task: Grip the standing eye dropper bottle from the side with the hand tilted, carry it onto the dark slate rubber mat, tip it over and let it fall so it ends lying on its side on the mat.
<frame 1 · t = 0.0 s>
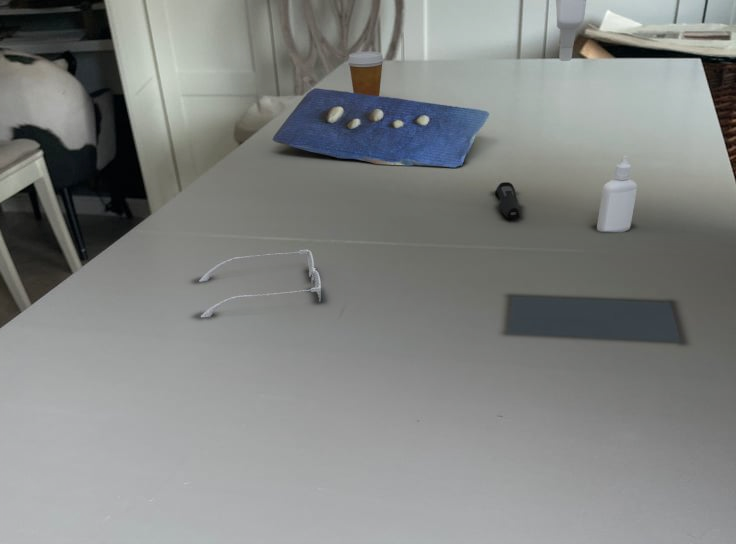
hand: (564, 54, 123), 27 cm above the table, tool pointing down, fingers open, 8 cm apart
mat: (590, 321, 112), on the table
eye dropper bottle: (612, 231, 138), on the table
eyeglasses: (258, 296, 123), on the table
mat 2: (383, 147, 185), on the table
disposable coffee cup: (367, 105, 218), on the table
electric trimmer: (508, 209, 149), on the table
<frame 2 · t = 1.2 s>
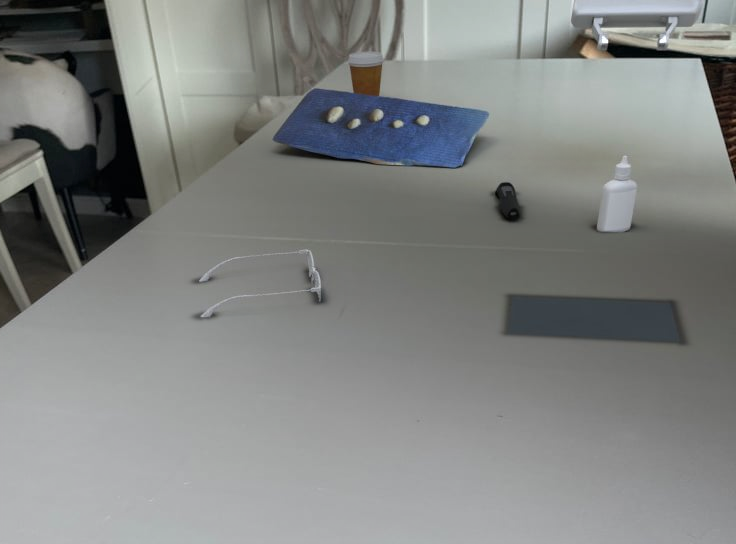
hand: (632, 48, 131), 26 cm above the table, tool tilted 45°, fingers open, 8 cm apart
nothing on the table moved.
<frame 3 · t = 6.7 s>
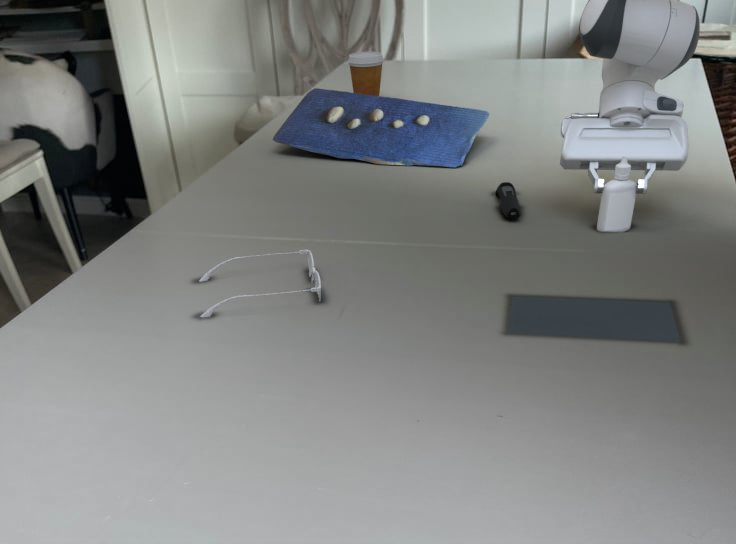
hand: (619, 192, 133), 7 cm above the table, tool tilted 45°, fingers closed on eye dropper bottle, 5 cm apart
eye dropper bottle: (612, 231, 138), on the table, touching gripper
everything else where it was.
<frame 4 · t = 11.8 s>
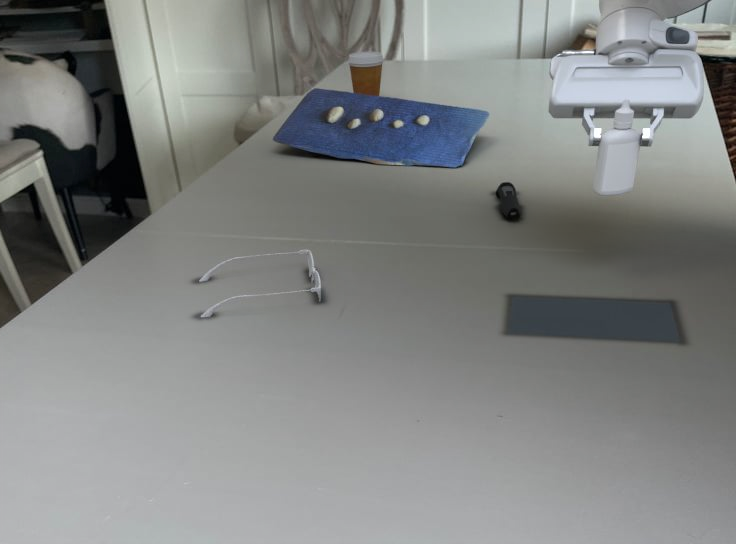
hand: (620, 144, 110), 19 cm above the table, tool tilted 45°, fingers closed on eye dropper bottle, 5 cm apart
eye dropper bottle: (612, 193, 115), point 13 cm above the table, touching gripper
everything else where it was.
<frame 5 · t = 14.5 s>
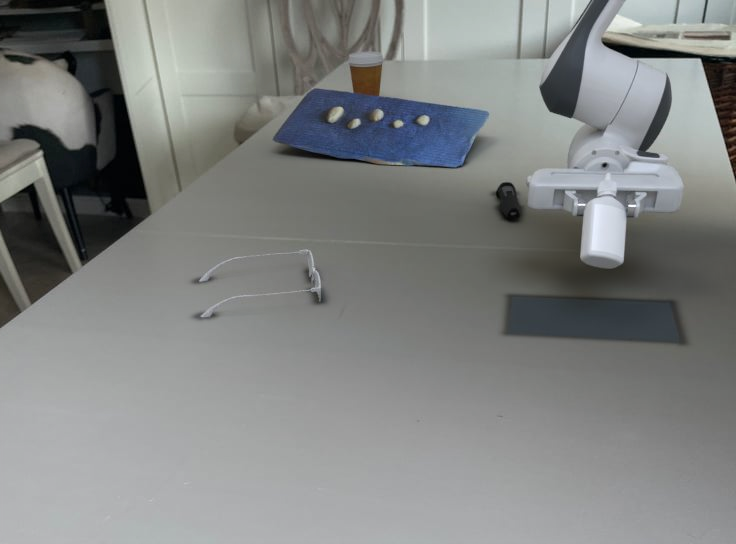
hand: (606, 211, 105), 14 cm above the table, tool horizontal, fingers closed on eye dropper bottle, 5 cm apart
eye dropper bottle: (601, 264, 105), point 9 cm above the table, touching gripper
everything else where it was.
when the fingers open (7 cm above the table, at t = 17.0 s): eye dropper bottle moves 1 cm, resting on mat.
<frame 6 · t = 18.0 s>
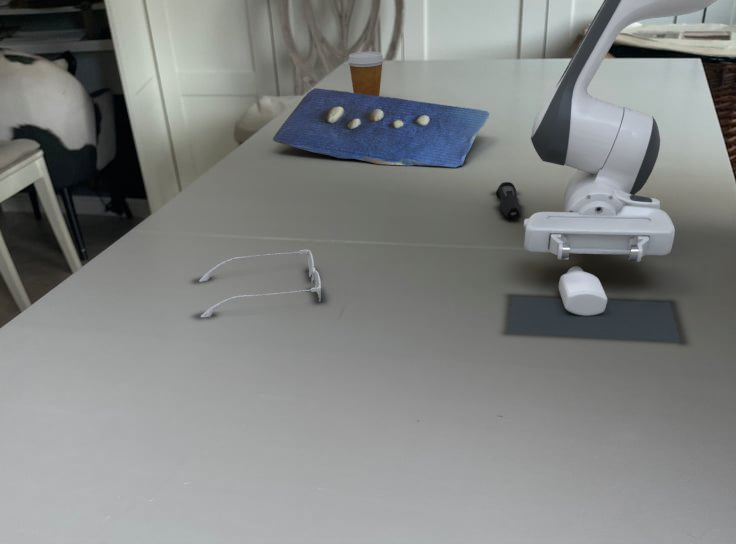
hand: (599, 255, 109), 8 cm above the table, tool horizontal, fingers open, 8 cm apart
eye dropper bottle: (586, 305, 110), point 2 cm above the table, touching mat
everything else where it was.
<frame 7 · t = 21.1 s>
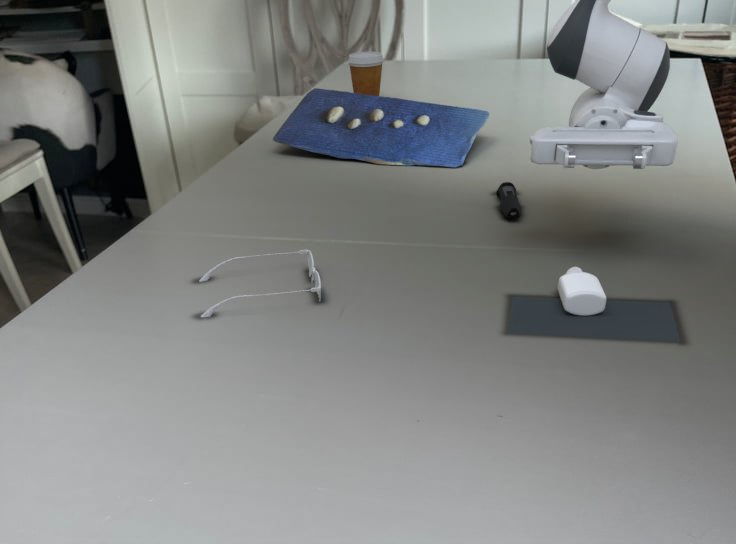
hand: (604, 162, 112), 17 cm above the table, tool horizontal, fingers open, 8 cm apart
nothing on the table moved.
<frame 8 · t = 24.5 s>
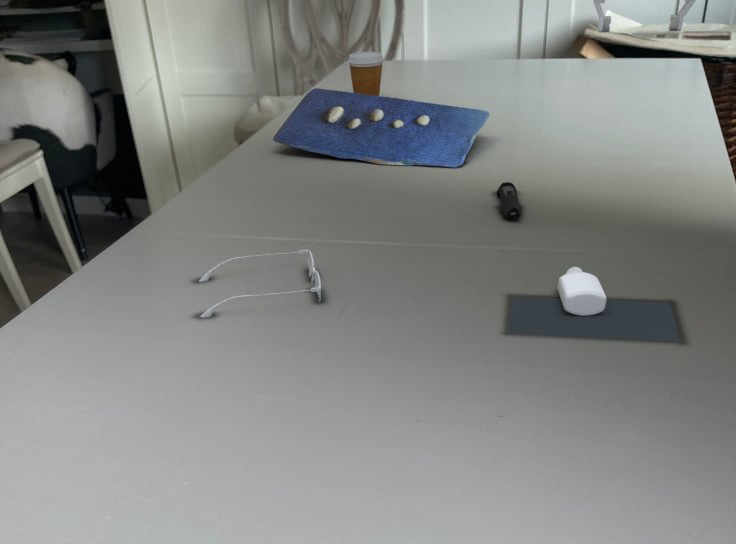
hand: (638, 31, 111), 31 cm above the table, tool pointing down, fingers open, 8 cm apart
nothing on the table moved.
at the end: eye dropper bottle tilted 90°; eye dropper bottle inside the target area on the mat (1.0 cm from its centre), point 2.3 cm above the mat's base; the gripper is holding nothing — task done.
